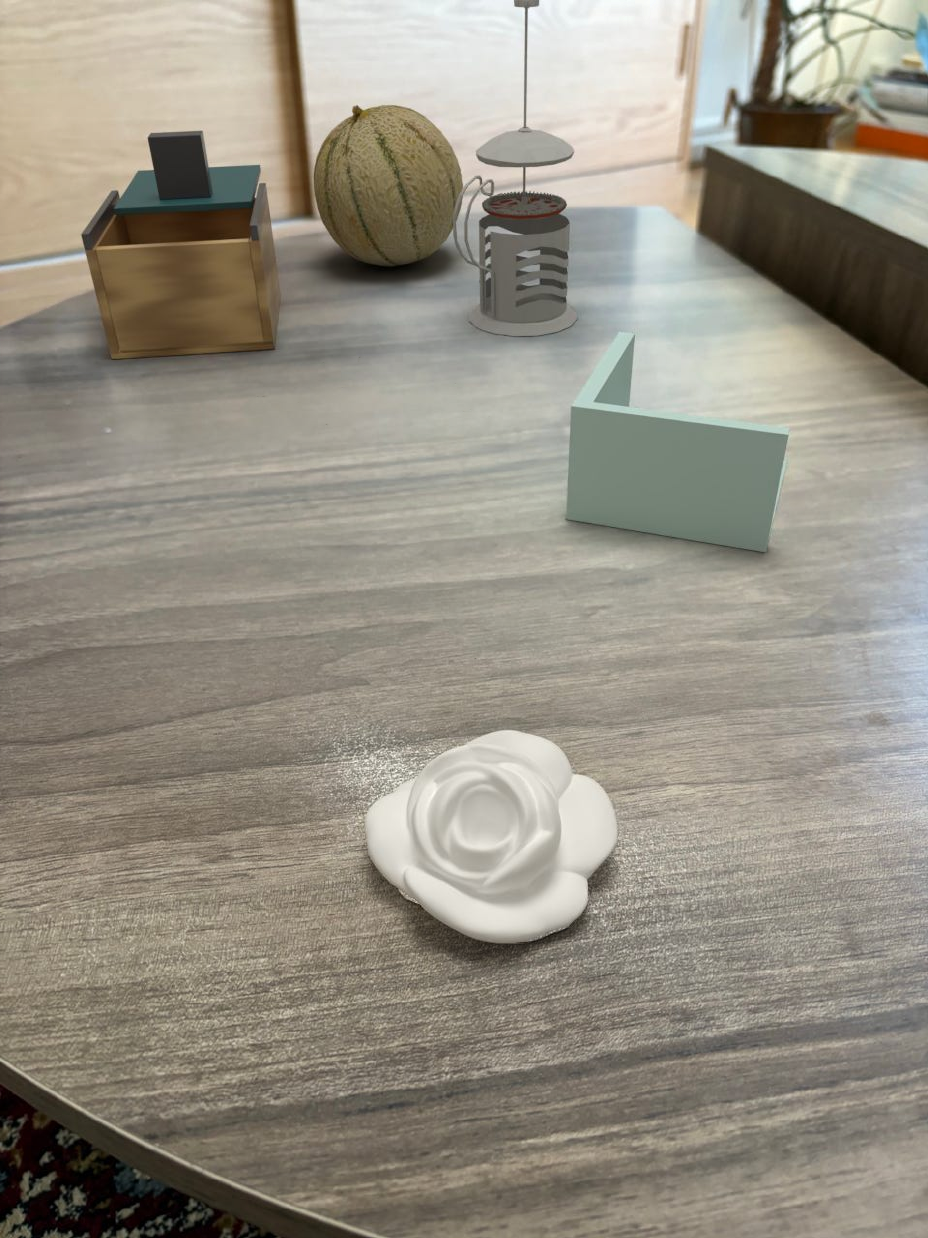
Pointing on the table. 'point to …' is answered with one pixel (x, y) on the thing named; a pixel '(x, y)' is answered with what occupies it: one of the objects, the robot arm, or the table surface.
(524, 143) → the french press
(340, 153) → the cantaloupe
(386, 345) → the table surface
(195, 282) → the wooden box
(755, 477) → the l-shaped corner panel
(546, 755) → the rose
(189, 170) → the sliding door
